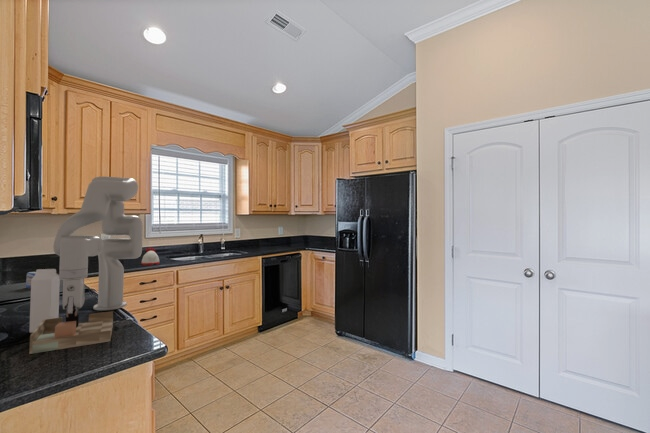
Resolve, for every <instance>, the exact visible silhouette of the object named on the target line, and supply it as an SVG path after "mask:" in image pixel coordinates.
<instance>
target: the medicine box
mask: <svg viewBox="0 0 650 433" xmlns="http://www.w3.org/2000/svg"><path fill="white" fill-rule="evenodd" d="M35 274H36V271H29V272H27V273H26V280H25V282H26V283H25V288H26V289H31V279H32V278H33V277H34V276H35Z"/></svg>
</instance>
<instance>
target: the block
mask: <svg viewBox="0 0 650 433" xmlns="http://www.w3.org/2000/svg"><path fill="white" fill-rule="evenodd" d="M75 333H76V321H70V322H66V321H64V322H63V321H62V322H61V323H58V324H57V325H56V326H55V338H60V337H67V336H74V335H75Z"/></svg>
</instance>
